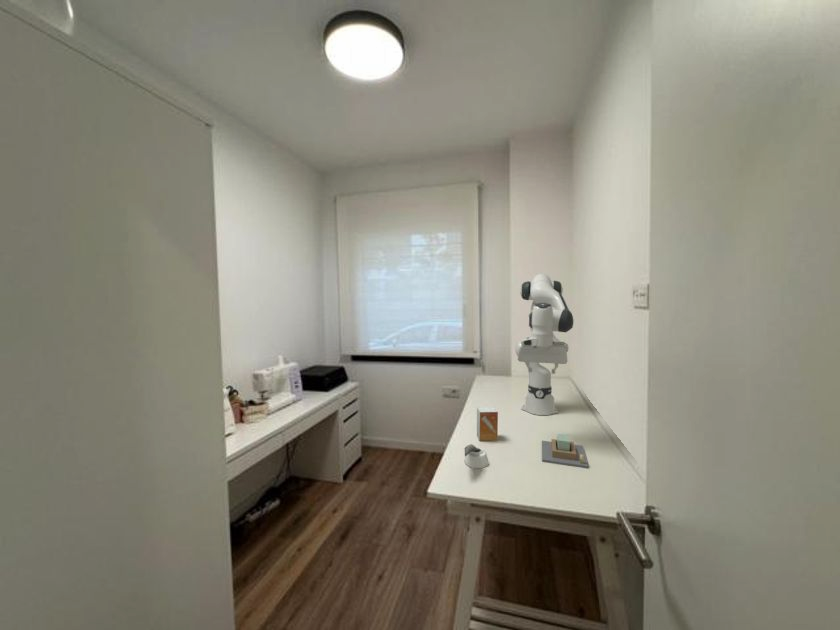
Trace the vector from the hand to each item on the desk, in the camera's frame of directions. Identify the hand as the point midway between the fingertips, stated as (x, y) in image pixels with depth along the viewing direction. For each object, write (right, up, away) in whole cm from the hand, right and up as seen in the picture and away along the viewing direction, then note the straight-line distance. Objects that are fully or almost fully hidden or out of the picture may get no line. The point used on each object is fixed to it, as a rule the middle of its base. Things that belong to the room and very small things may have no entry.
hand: (541, 372), depth 149 cm
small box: (-23, -30, +4) cm, 38 cm away
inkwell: (-33, -32, -22) cm, 51 cm away
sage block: (+4, -30, -12) cm, 32 cm away
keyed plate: (+4, -31, -12) cm, 33 cm away
